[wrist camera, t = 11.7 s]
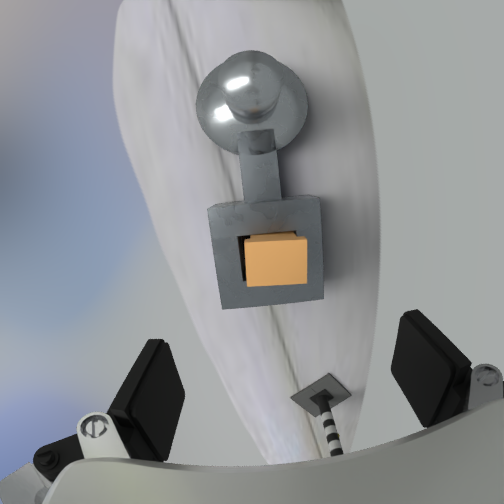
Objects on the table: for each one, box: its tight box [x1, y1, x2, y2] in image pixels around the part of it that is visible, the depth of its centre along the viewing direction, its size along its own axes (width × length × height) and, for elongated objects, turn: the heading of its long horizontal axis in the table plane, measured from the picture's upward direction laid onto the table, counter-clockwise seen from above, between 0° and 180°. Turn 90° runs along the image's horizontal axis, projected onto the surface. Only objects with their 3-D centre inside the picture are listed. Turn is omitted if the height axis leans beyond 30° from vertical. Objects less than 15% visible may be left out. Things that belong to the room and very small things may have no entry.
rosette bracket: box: [196, 50, 324, 309], centre depth 23 cm, size 26×11×10 cm, turn 6°
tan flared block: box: [244, 231, 307, 287], centre depth 25 cm, size 4×5×9 cm
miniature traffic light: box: [291, 373, 351, 457], centre depth 21 cm, size 8×8×30 cm
